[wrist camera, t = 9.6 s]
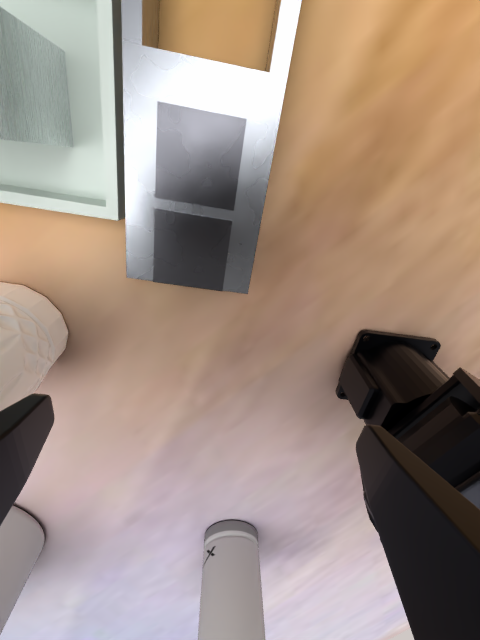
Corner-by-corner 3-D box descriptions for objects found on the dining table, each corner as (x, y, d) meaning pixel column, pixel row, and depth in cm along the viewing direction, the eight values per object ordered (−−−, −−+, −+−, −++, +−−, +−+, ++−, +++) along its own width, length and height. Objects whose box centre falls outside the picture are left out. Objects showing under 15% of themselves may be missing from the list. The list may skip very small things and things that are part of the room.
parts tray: (130, -15, 13) (110, -52, 11) (132, 213, 18) (118, 220, 16) (-112, -71, 12) (-190, -125, 10) (-45, 185, 17) (-88, 188, 15)
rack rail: (333, -227, 11) (367, -356, 8) (245, 277, 20) (247, 294, 17) (142, -289, 10) (111, -454, 8) (140, 262, 19) (125, 278, 17)
